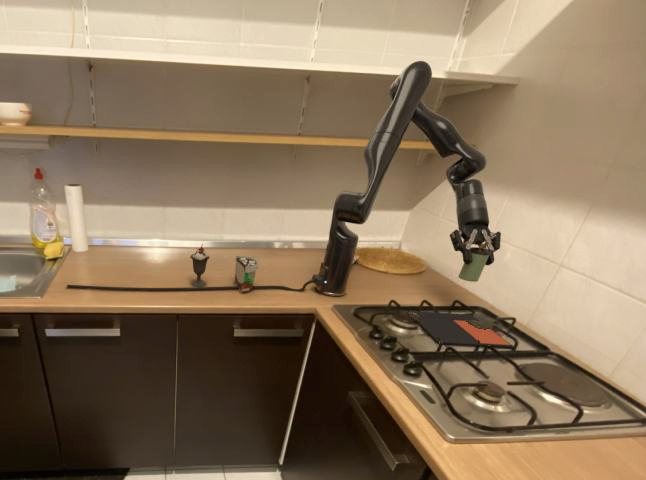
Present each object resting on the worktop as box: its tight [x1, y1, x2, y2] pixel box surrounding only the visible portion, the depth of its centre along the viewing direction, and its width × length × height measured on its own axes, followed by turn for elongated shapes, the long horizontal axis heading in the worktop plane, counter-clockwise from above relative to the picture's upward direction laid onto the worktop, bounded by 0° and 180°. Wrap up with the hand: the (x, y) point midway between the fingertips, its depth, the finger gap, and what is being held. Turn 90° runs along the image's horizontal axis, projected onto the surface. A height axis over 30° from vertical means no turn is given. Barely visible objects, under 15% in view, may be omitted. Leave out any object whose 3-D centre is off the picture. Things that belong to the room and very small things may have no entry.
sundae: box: [189, 243, 211, 287], centre depth 133 cm, size 7×7×15 cm
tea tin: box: [457, 246, 491, 283], centre depth 115 cm, size 5×5×9 cm
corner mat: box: [411, 310, 515, 350], centre depth 113 cm, size 20×20×1 cm
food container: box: [233, 255, 259, 294], centre depth 133 cm, size 12×6×10 cm, turn 9°
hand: (479, 263), depth 113 cm, fingers closed on tea tin, 5 cm apart
